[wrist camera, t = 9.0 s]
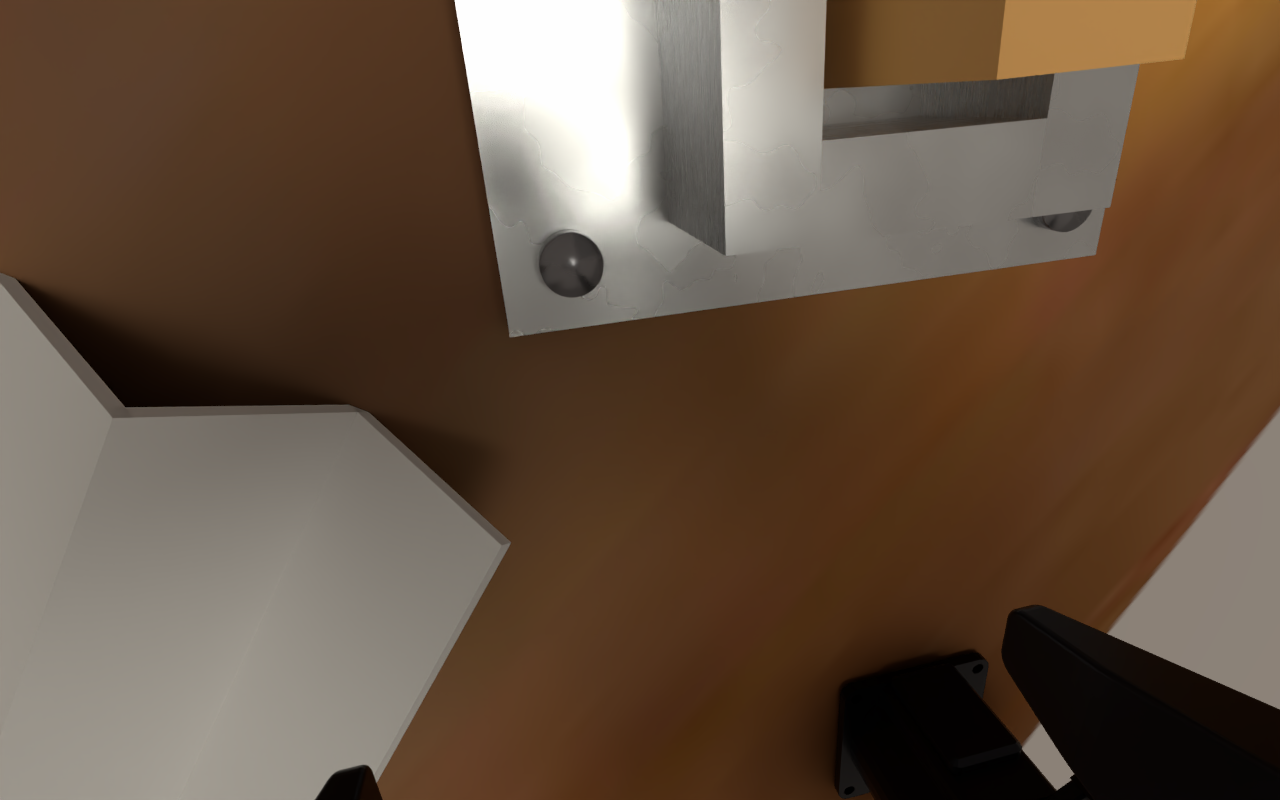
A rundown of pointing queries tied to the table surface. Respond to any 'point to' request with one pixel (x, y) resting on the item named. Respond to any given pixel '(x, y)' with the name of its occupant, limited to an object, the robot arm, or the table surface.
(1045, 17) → the wedge pin
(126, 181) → the table surface
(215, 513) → the z bracket
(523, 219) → the bracket collar
